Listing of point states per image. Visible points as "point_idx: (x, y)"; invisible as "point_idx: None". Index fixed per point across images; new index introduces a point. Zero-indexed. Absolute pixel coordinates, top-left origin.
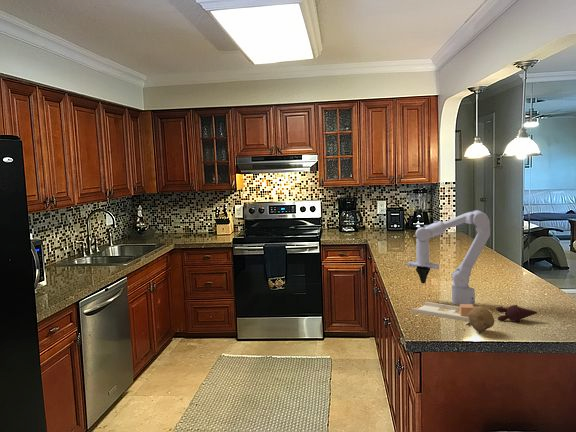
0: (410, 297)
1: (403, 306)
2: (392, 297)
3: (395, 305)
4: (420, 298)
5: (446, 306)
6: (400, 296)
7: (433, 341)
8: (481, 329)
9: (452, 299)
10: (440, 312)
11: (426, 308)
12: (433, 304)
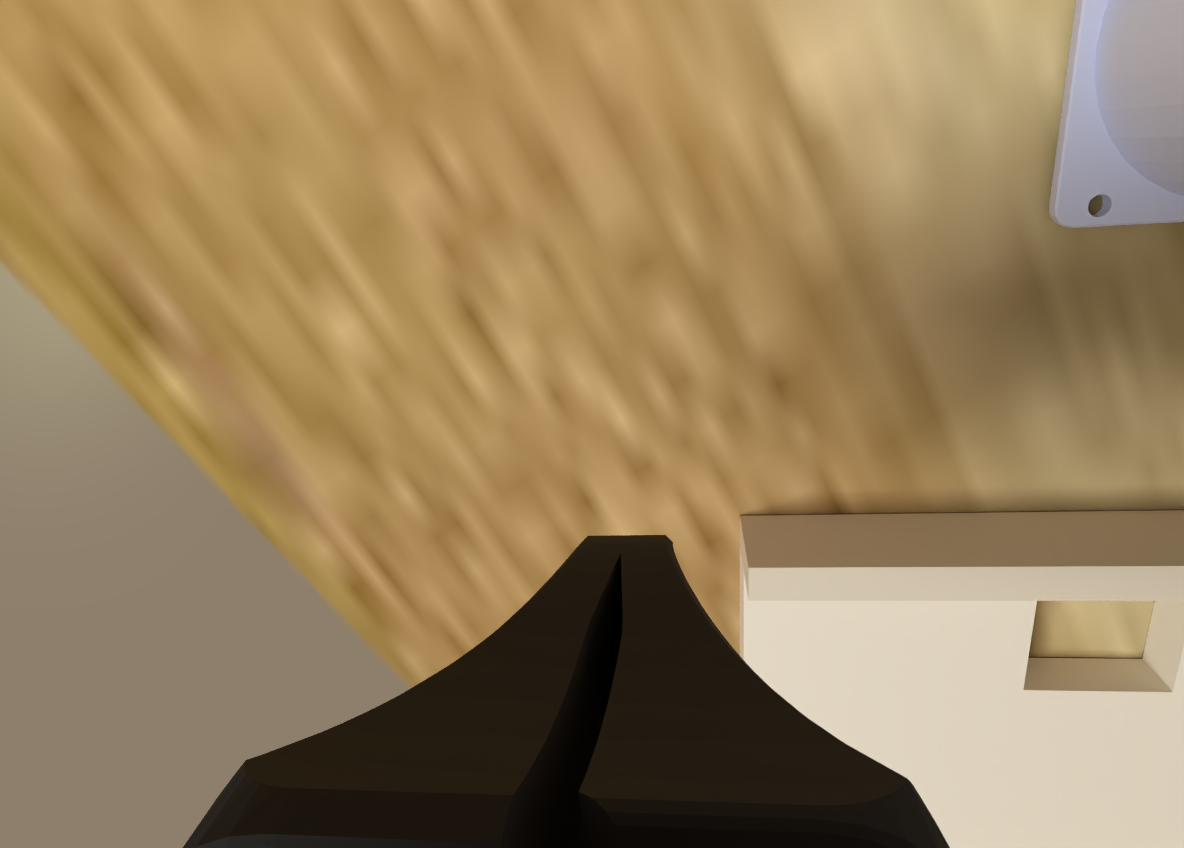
0: (216, 91)
1: (451, 595)
2: (20, 275)
3: (342, 607)
4: (387, 41)
5: (1162, 590)
6: (56, 138)
7: None
8: None
9: (1179, 152)
10: (1101, 754)
11: (847, 687)
12: (919, 591)
